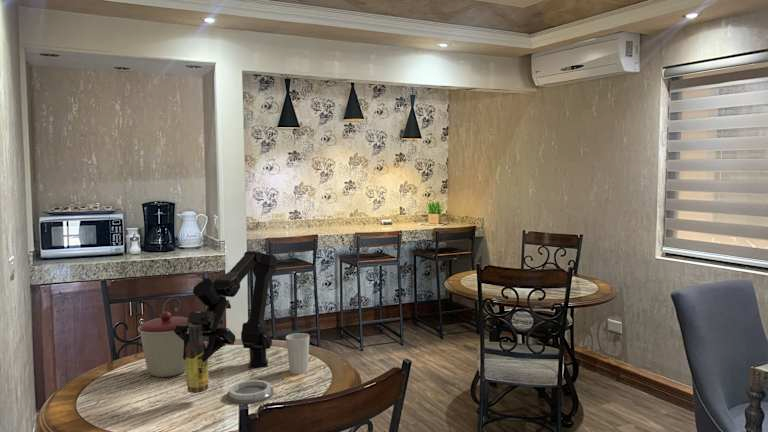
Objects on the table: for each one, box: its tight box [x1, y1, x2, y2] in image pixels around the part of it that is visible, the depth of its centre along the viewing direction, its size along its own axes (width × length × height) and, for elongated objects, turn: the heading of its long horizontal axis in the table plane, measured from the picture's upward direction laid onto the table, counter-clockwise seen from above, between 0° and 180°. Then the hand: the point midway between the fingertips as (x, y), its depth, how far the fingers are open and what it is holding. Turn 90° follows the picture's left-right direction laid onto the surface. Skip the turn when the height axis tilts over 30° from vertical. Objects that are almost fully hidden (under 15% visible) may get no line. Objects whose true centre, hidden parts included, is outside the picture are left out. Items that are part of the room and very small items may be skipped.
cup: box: [285, 332, 310, 375], centre depth 202 cm, size 8×8×12 cm
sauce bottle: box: [185, 323, 210, 394], centre depth 177 cm, size 6×6×20 cm
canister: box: [137, 311, 193, 378], centre depth 203 cm, size 18×18×21 cm
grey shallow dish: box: [226, 379, 275, 405], centre depth 182 cm, size 14×14×2 cm
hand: (193, 360), depth 176 cm, fingers closed on sauce bottle, 6 cm apart
